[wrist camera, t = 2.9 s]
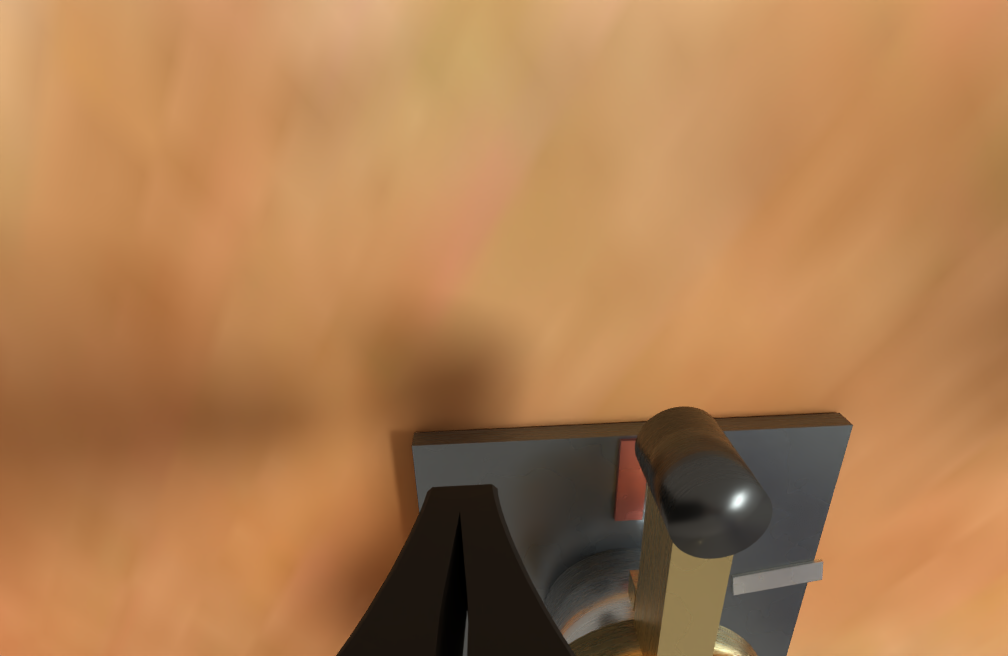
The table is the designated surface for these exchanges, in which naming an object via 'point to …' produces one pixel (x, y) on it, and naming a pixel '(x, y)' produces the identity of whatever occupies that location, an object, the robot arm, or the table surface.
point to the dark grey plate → (643, 514)
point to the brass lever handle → (686, 541)
